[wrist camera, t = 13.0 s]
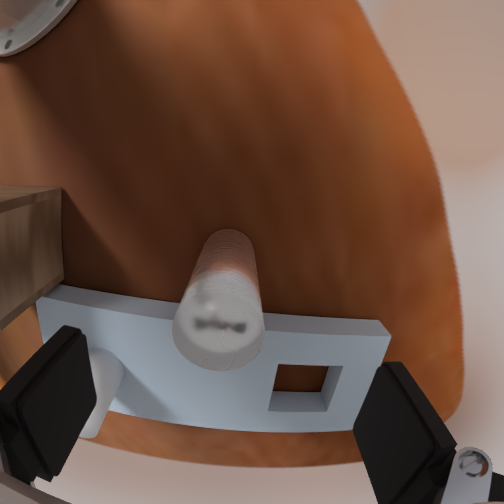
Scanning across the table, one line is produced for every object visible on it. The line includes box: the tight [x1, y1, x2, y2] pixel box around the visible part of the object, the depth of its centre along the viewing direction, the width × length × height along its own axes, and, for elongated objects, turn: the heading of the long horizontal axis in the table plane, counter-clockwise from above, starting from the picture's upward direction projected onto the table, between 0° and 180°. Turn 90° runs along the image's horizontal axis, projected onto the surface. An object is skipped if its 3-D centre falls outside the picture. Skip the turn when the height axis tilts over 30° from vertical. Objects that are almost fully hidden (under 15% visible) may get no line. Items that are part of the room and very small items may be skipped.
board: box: [36, 284, 391, 438], centre depth 19 cm, size 10×26×8 cm, turn 83°
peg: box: [172, 229, 265, 371], centre depth 16 cm, size 3×3×10 cm
